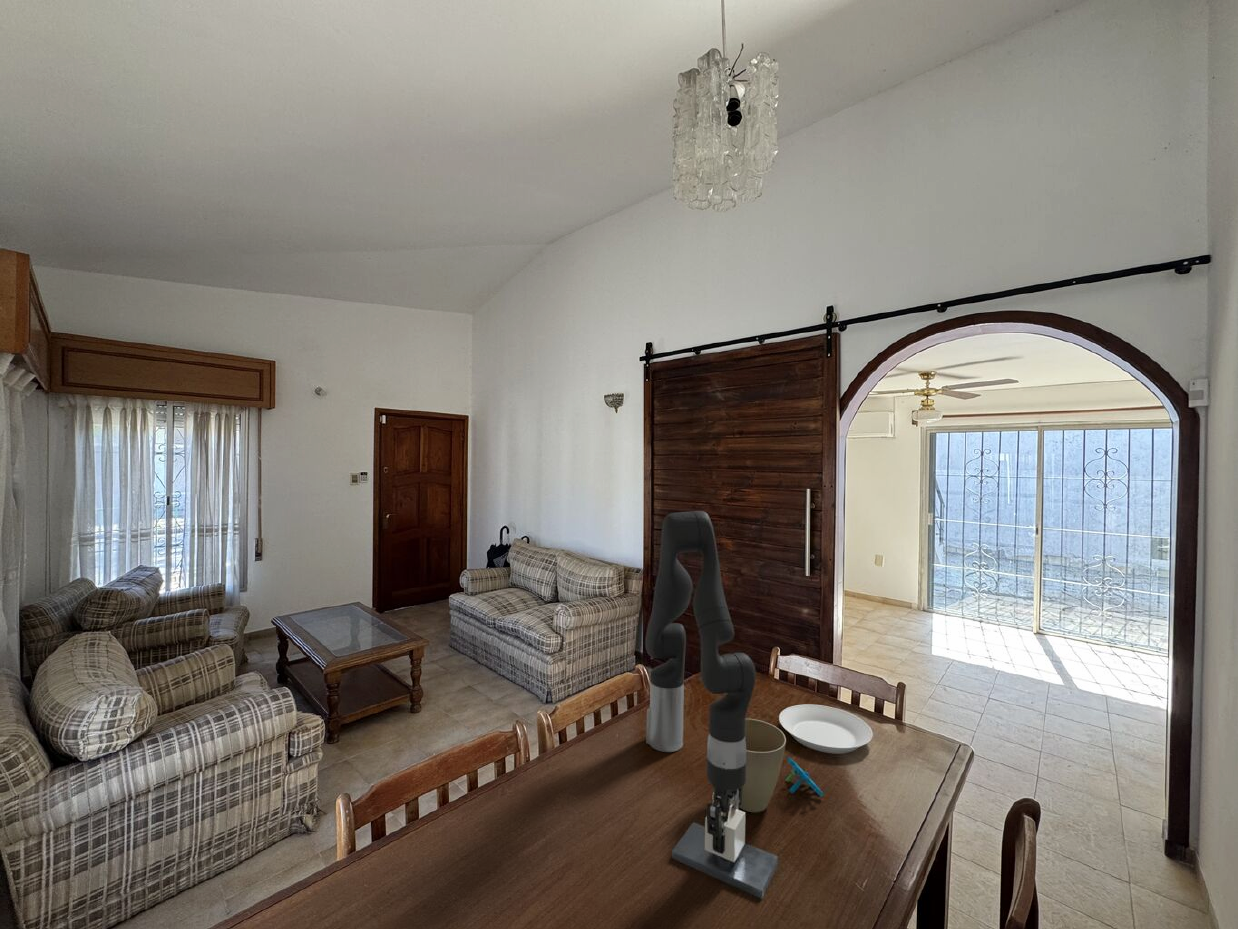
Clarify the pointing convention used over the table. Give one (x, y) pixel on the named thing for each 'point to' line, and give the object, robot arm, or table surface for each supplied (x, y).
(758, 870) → the panel
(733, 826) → the white and orange block
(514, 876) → the table surface
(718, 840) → the robot arm
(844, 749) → the bowl
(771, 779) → the plant pot
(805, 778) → the gear
